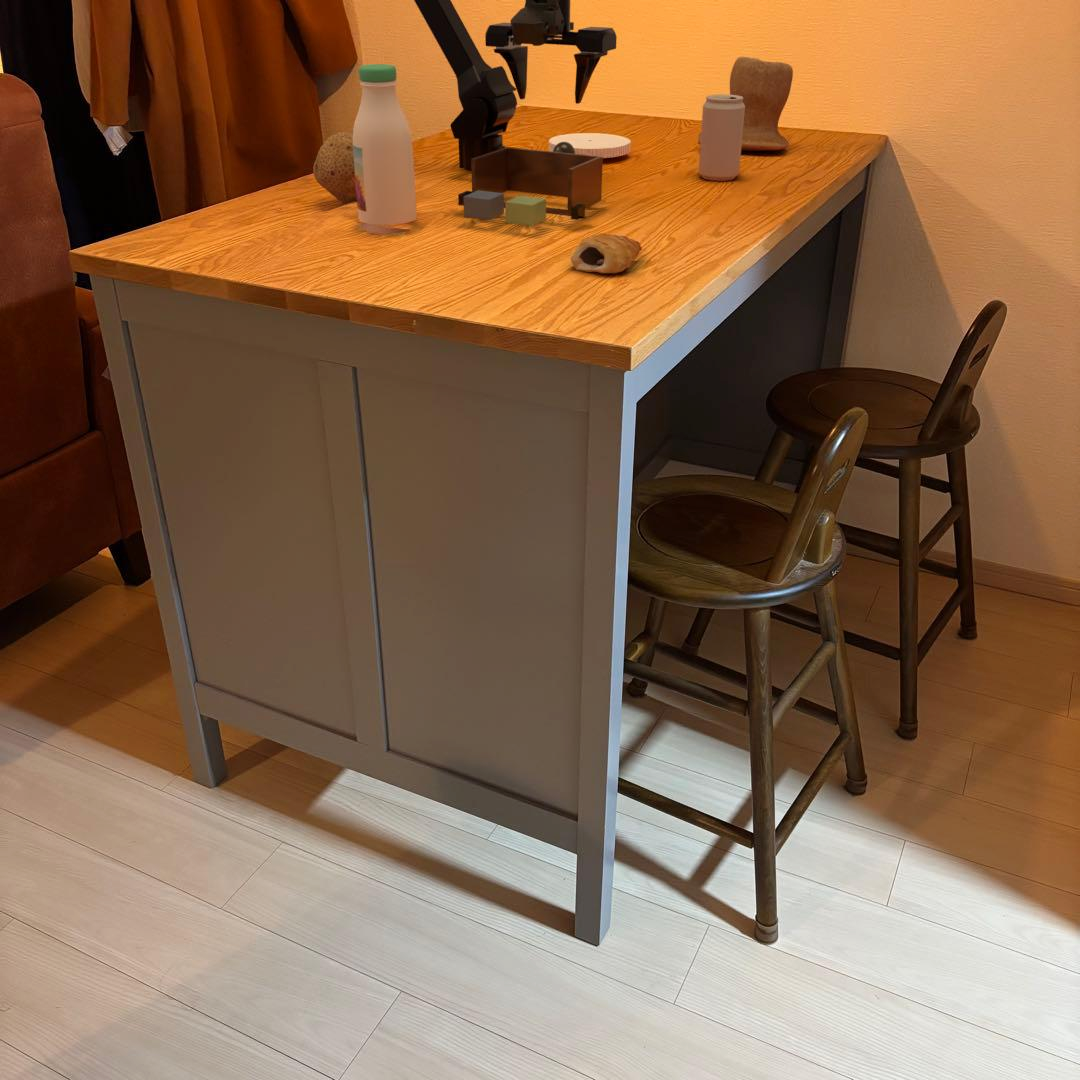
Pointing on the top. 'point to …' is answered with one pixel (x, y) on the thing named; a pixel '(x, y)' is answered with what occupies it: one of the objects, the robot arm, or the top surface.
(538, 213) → the sage block
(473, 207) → the slate block
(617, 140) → the plastic lid
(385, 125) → the milk bottle
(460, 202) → the pivot brackets
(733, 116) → the beverage can
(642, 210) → the top surface
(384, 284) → the top surface
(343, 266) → the top surface
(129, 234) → the top surface
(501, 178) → the bin
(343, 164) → the natural sponge
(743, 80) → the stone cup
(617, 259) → the pastry
